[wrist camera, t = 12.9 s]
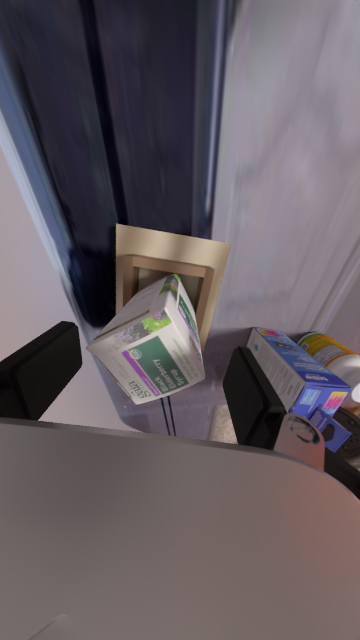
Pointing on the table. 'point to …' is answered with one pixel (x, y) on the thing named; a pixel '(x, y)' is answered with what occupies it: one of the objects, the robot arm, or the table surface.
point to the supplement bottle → (334, 359)
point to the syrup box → (152, 342)
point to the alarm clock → (356, 446)
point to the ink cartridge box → (301, 381)
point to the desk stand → (170, 268)
